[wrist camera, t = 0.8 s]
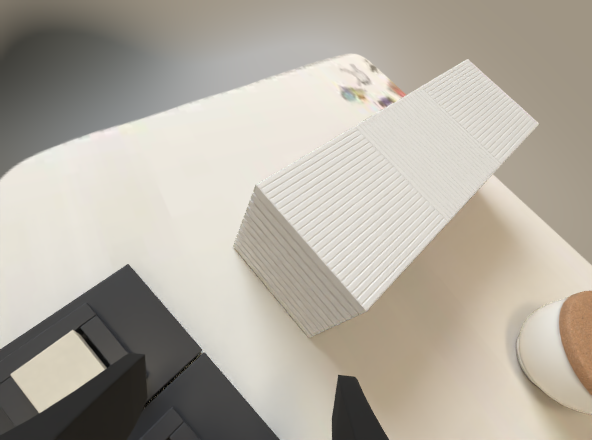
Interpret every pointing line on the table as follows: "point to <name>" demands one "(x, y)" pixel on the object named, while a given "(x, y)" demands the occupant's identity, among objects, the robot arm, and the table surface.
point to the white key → (58, 371)
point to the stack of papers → (377, 196)
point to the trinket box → (560, 350)
